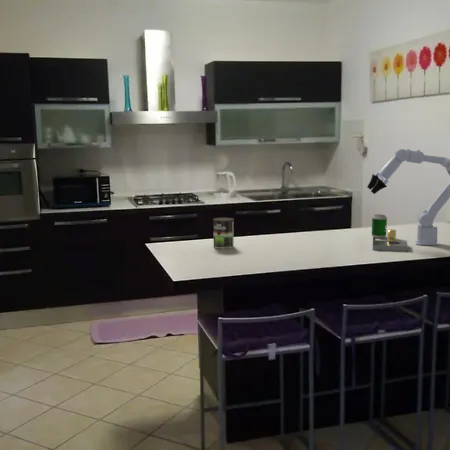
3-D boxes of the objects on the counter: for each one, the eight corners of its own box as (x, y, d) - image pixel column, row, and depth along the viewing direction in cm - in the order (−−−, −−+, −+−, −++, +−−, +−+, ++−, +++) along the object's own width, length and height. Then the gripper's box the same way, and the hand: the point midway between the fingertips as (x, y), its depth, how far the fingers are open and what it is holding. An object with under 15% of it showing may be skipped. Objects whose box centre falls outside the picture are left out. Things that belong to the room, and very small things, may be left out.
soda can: (382, 239, 294) (383, 216, 292) (369, 237, 298) (369, 215, 296) (388, 237, 300) (389, 214, 298) (374, 235, 304) (375, 213, 302)
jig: (406, 246, 276) (406, 238, 275) (407, 251, 264) (408, 243, 264) (372, 245, 280) (372, 237, 279) (372, 250, 268) (372, 241, 268)
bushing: (395, 243, 284) (395, 229, 282) (395, 244, 280) (396, 231, 279) (387, 242, 285) (387, 229, 284) (387, 244, 281) (387, 230, 280)
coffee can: (228, 249, 274) (227, 221, 272) (209, 247, 279) (209, 219, 277) (237, 245, 283) (237, 218, 281) (219, 244, 288) (219, 216, 286)
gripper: (379, 161, 285) (361, 182, 288) (387, 168, 271) (368, 190, 275) (389, 169, 286) (371, 189, 290) (397, 176, 273) (378, 198, 276)
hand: (370, 190), depth 283 cm, fingers open, 7 cm apart
